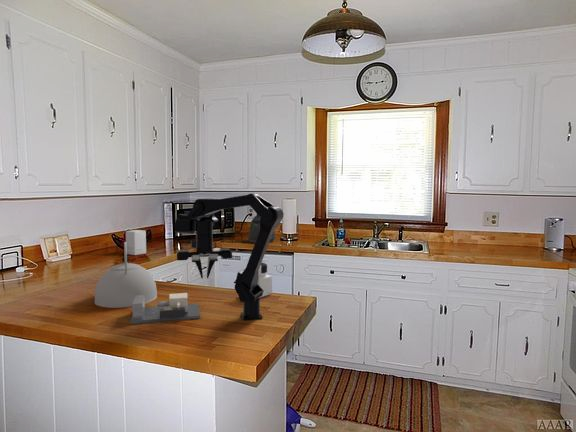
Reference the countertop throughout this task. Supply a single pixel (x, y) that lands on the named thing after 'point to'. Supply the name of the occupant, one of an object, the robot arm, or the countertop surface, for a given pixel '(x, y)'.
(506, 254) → the countertop surface
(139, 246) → the supplement box
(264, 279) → the container
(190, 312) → the gauge bench
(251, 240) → the bottle
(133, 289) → the grey dome with rod
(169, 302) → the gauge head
